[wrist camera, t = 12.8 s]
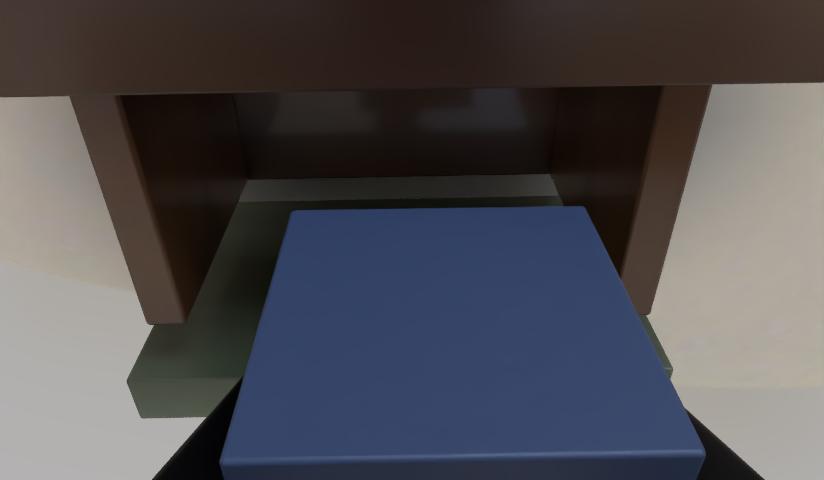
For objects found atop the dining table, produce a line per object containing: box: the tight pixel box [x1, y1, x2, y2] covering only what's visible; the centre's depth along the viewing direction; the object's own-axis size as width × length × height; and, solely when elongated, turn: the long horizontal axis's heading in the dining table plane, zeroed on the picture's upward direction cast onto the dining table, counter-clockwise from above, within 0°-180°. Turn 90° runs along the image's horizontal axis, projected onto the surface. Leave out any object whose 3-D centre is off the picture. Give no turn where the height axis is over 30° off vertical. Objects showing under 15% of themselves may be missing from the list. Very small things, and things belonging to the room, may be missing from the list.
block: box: [219, 206, 706, 480], centre depth 8 cm, size 4×4×4 cm
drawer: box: [69, 84, 712, 418], centre depth 14 cm, size 17×11×7 cm
